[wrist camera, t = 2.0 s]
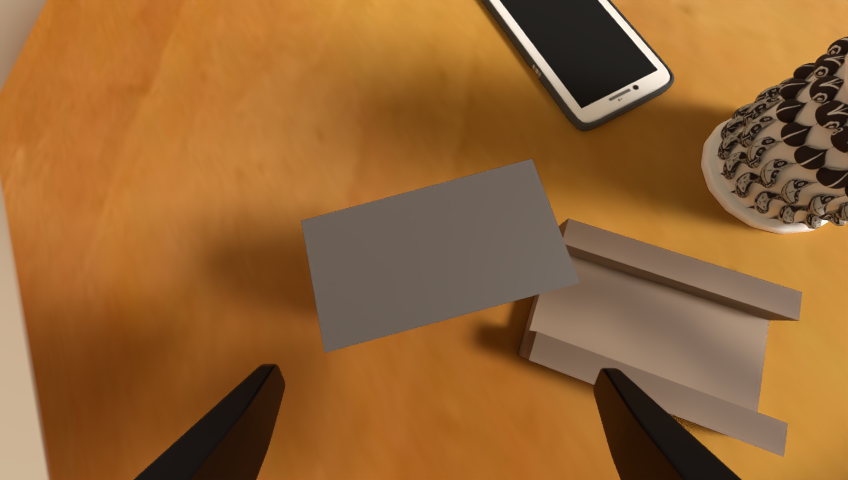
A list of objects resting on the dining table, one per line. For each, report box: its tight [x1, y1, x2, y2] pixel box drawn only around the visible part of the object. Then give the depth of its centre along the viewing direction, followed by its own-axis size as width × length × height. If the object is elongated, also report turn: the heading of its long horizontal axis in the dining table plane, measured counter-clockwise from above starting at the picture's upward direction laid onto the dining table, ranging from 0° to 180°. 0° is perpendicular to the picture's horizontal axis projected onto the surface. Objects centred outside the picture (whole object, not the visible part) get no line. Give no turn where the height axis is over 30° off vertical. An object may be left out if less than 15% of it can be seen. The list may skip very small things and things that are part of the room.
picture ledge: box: [518, 219, 802, 457], centre depth 18 cm, size 8×12×2 cm, turn 70°
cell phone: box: [482, 0, 674, 131], centre depth 24 cm, size 8×15×1 cm, turn 27°
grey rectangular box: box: [301, 159, 580, 353], centre depth 14 cm, size 4×6×12 cm, turn 105°
